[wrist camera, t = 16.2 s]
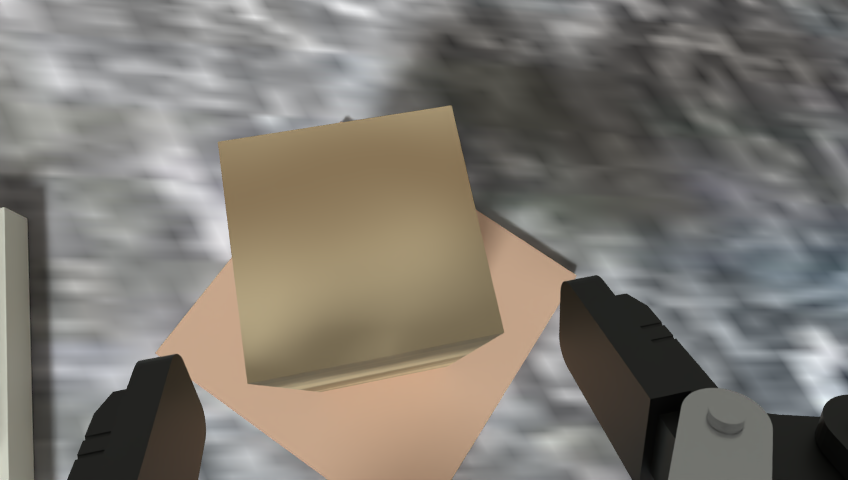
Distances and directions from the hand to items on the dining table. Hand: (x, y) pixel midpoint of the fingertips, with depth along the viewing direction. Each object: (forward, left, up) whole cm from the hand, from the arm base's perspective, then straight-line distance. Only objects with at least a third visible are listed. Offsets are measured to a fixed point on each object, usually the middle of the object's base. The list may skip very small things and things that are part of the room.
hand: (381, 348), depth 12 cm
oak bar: (+2, +2, -11) cm, 11 cm away
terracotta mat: (+2, +2, -11) cm, 12 cm away
